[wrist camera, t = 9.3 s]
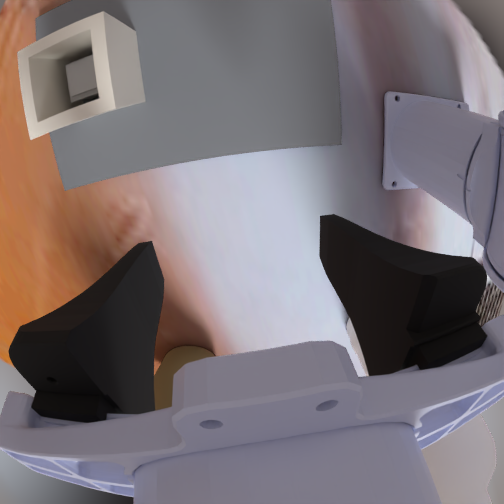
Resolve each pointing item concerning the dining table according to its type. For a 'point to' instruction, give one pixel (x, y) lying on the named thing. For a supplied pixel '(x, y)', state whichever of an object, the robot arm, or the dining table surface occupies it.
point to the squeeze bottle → (170, 367)
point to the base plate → (204, 84)
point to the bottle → (456, 455)
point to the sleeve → (70, 50)
